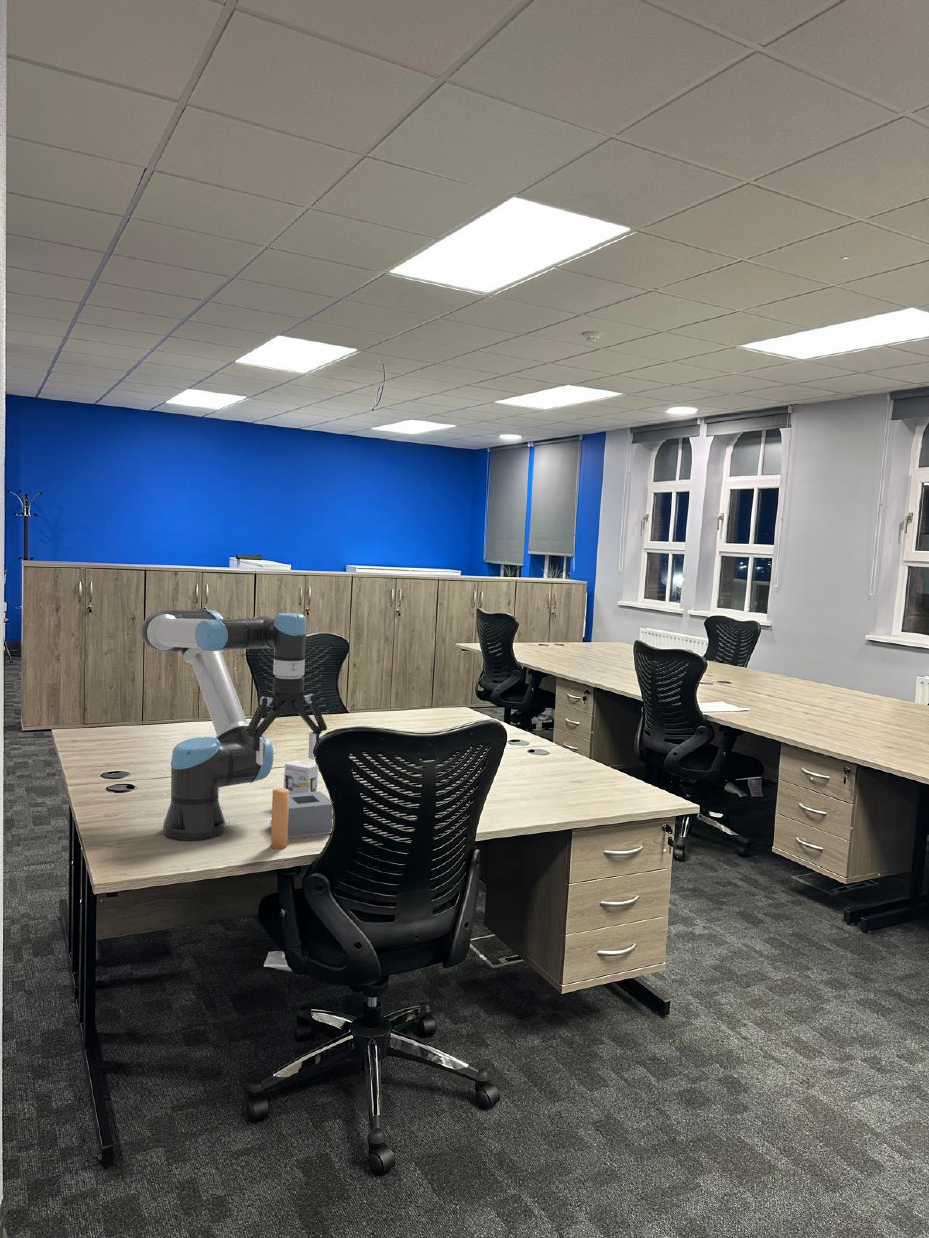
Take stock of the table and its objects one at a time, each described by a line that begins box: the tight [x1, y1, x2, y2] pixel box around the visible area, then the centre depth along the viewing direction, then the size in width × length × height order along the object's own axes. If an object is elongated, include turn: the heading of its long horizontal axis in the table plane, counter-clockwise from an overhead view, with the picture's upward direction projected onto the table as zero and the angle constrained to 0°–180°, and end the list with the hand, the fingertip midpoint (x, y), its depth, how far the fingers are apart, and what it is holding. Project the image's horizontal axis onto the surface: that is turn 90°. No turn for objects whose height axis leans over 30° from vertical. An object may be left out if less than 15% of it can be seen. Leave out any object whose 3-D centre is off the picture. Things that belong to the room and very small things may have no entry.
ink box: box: [283, 759, 319, 794], centre depth 251 cm, size 9×5×12 cm, turn 66°
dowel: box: [270, 787, 289, 850], centre depth 216 cm, size 4×4×14 cm
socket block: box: [270, 790, 333, 840], centre depth 231 cm, size 14×14×8 cm
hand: (286, 761), depth 217 cm, fingers open, 13 cm apart
